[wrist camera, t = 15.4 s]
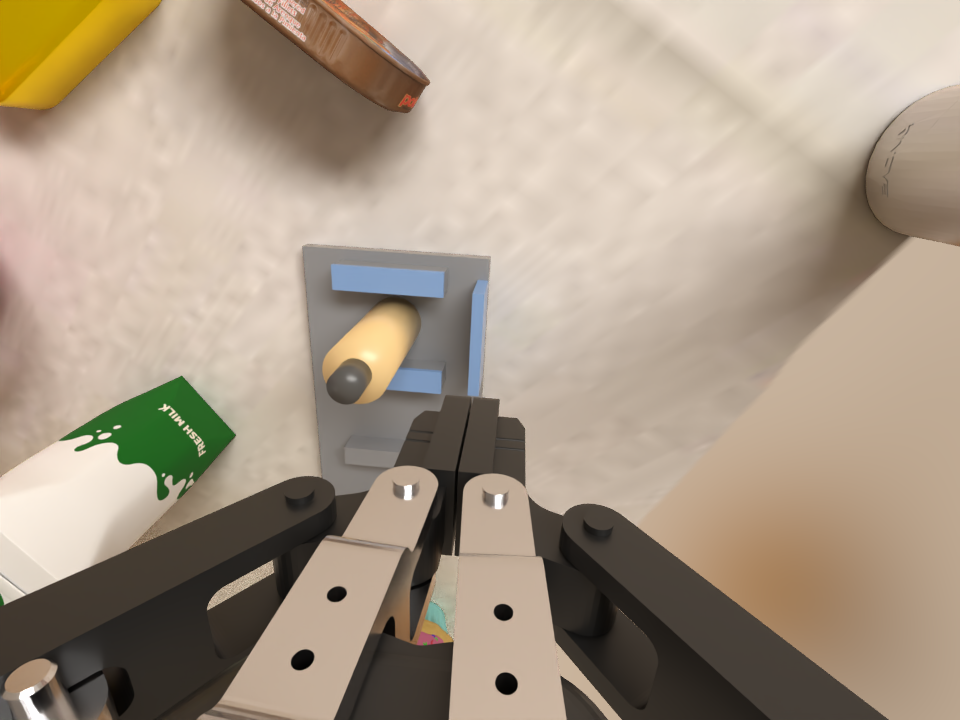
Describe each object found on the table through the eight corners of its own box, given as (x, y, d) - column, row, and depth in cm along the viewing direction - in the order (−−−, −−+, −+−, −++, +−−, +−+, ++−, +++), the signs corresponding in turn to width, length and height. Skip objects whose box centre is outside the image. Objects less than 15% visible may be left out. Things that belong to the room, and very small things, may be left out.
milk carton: (116, 408, 45) (-168, 584, 26) (183, 361, 42) (-80, 518, 24) (185, 478, 47) (-32, 683, 29) (251, 437, 45) (61, 633, 26)
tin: (442, 86, 33) (417, 64, 25) (415, 128, 34) (383, 119, 26) (246, -82, 30) (150, -164, 22) (224, -31, 31) (125, -93, 24)
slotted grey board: (490, 256, 37) (485, 270, 32) (473, 530, 47) (468, 571, 42) (307, 243, 38) (277, 256, 33) (329, 516, 48) (309, 554, 43)
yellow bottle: (421, 298, 37) (378, 357, 26) (421, 348, 39) (380, 423, 28) (369, 295, 38) (305, 352, 27) (371, 343, 39) (311, 417, 28)
